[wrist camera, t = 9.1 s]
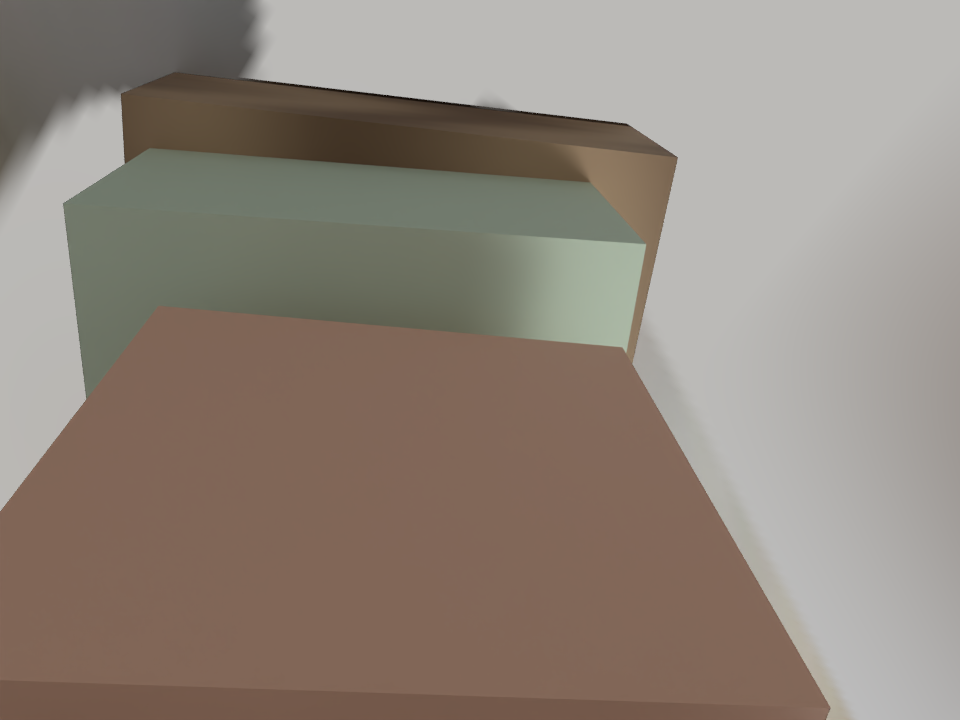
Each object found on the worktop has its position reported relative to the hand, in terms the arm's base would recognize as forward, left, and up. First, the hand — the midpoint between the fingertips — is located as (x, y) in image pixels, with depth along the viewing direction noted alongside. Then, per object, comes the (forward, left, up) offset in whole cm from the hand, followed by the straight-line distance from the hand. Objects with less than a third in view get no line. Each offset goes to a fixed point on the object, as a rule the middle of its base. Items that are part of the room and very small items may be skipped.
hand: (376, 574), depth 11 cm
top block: (0, 0, -6) cm, 6 cm away
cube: (0, 0, -1) cm, 1 cm away
